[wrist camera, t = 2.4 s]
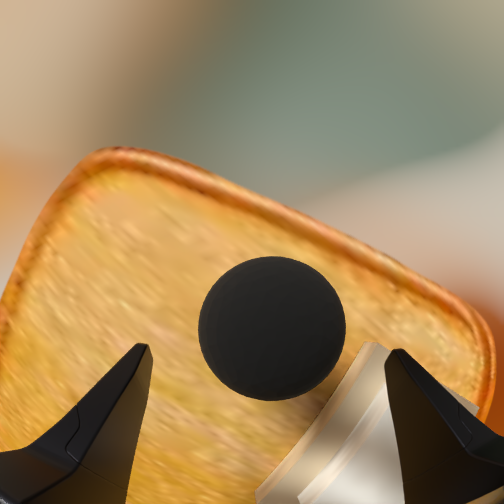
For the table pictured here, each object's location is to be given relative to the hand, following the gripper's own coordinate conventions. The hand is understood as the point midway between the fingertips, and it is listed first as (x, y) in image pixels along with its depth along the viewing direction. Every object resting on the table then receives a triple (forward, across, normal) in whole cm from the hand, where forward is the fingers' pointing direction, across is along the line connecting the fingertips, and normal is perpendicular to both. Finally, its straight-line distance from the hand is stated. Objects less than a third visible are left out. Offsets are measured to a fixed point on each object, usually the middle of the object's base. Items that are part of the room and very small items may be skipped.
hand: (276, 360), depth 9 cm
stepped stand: (-1, -10, +13) cm, 16 cm away
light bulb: (+7, 0, +6) cm, 9 cm away
